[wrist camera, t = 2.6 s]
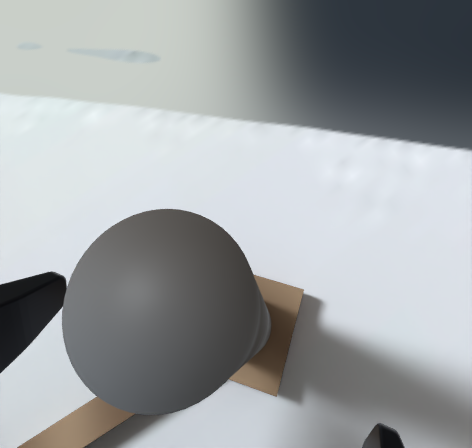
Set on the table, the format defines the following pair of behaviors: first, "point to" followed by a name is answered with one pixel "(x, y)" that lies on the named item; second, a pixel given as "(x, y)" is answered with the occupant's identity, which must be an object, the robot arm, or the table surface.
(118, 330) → the grey knob lever
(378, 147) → the table surface
